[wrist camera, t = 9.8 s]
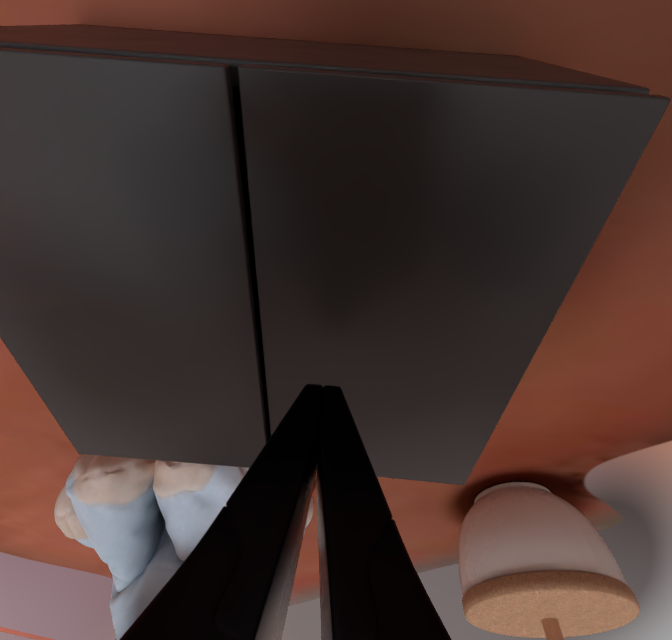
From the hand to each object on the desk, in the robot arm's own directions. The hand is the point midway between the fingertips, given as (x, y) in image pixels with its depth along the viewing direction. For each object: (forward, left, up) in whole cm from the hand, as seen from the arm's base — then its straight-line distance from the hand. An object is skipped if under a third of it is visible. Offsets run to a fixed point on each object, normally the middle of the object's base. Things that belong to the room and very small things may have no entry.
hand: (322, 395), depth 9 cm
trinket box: (-16, +23, -10) cm, 29 cm away
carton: (+2, 0, -10) cm, 10 cm away
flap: (-2, 0, -2) cm, 3 cm away
